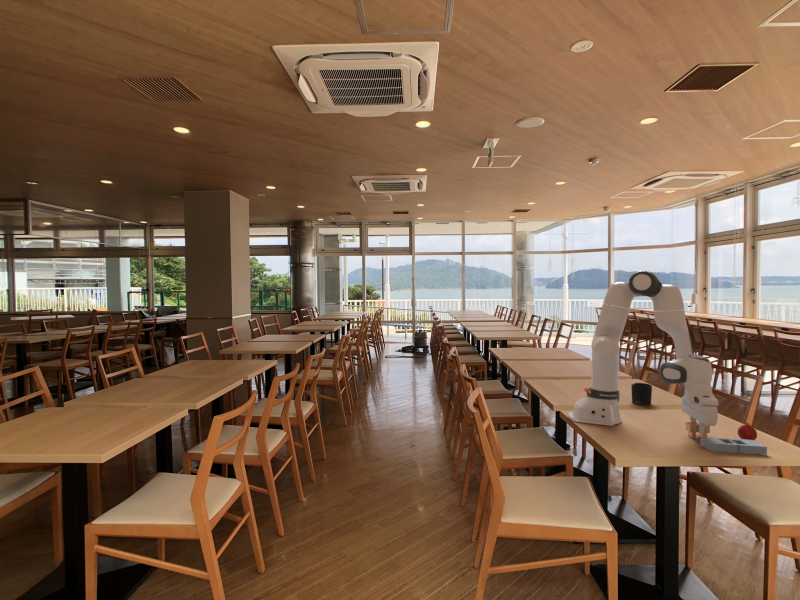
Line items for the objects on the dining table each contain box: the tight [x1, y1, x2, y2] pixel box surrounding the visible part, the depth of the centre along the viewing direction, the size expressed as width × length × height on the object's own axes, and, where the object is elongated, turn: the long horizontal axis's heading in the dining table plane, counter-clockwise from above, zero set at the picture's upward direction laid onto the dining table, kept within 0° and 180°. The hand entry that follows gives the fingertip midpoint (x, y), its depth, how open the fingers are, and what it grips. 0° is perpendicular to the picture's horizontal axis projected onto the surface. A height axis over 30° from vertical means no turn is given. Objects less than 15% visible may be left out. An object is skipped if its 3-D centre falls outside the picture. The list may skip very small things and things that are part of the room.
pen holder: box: [631, 382, 653, 406], centre depth 217 cm, size 9×9×10 cm
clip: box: [685, 421, 711, 439], centre depth 166 cm, size 7×4×6 cm, turn 79°
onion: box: [737, 422, 758, 441], centre depth 160 cm, size 6×6×8 cm
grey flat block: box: [700, 436, 768, 455], centre depth 153 cm, size 18×7×3 cm, turn 79°
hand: (697, 429), depth 166 cm, fingers closed on clip, 3 cm apart
